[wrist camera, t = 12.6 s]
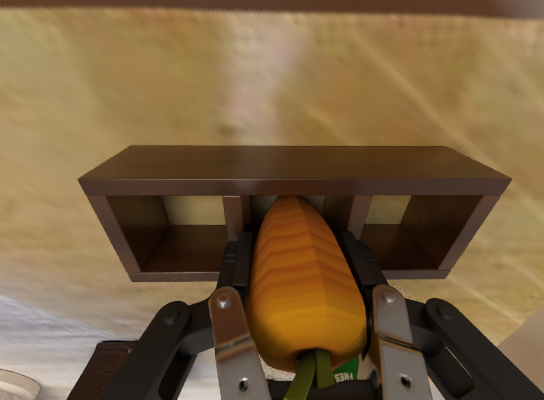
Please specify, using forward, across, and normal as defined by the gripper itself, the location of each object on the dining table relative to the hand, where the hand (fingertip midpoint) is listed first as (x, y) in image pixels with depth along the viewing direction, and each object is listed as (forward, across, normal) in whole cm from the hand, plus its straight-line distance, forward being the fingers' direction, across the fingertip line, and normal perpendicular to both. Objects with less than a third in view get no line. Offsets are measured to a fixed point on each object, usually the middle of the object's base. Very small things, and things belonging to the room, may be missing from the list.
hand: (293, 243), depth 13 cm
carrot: (+6, 0, 0) cm, 6 cm away
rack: (+5, 0, 0) cm, 5 cm away
